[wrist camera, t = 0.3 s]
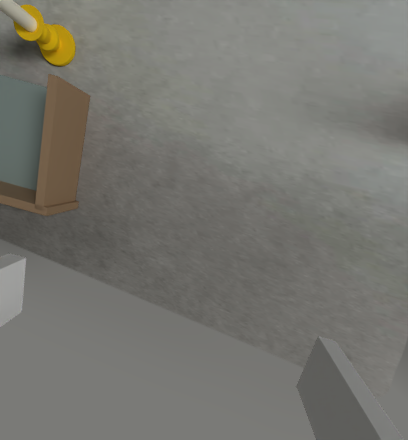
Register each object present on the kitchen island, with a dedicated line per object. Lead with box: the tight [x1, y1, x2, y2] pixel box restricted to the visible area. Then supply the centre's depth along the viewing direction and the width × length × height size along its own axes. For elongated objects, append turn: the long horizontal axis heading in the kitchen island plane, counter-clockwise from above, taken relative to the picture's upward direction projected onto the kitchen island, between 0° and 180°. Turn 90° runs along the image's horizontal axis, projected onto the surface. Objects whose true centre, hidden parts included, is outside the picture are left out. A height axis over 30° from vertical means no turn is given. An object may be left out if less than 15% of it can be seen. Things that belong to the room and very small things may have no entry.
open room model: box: [0, 74, 90, 216], centre depth 32 cm, size 18×15×7 cm
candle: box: [0, 0, 75, 66], centre depth 25 cm, size 5×5×16 cm
